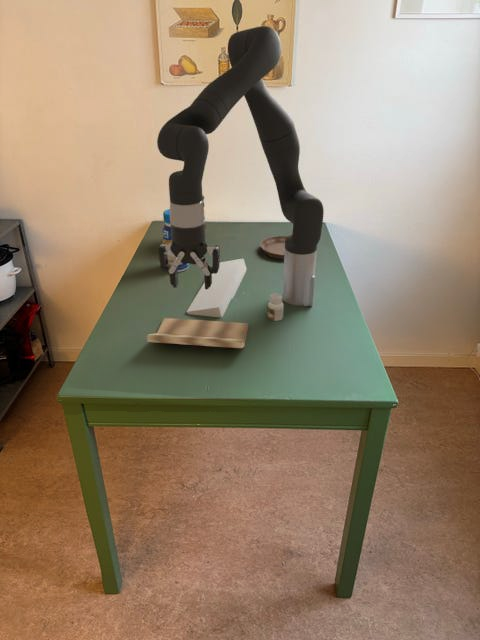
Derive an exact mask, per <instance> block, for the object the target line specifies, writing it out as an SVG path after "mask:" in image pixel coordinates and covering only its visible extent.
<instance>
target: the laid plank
mask: <svg viewBox="0 0 480 640" xmlns="http://www.w3.org/2000/svg"><path fill="white" fill-rule="evenodd" d="M249 325H250V323H248V322H234V321H218V320H203V319H201V320H200V319H187V318H170V317H169V318H167V317H164V318H163V319H162V322H161V324H160V326H159V328H158V330H157V331H156V333H158V334H173V335H188V336H204V337H219V338H234V339H245V342H246V340H247V336H248V330H249V327H250V326H249Z"/></svg>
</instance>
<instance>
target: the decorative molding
mask: <svg viewBox="0 0 480 640" xmlns="http://www.w3.org/2000/svg"><path fill="white" fill-rule="evenodd" d="M245 262H246V261H245V258H243V257H242V258H239V259H233V260H232V259H231V260H228V261H227V260H226V261H220V263H219V270H218V272H217V273H216V274H214V273H213V274H212V284H211V286H210V287H209V289H205V281H204V283H203V284H202V285H201V288H200V289H199V290H198V292H197V294H196V295H195V297H194V299H193V301H192V302H191V304H190V305H189V307H188V308H187V310H186V313H187V315H191V316H192V315H193V316H204V317H211V318H213V317H214V318H221V319H222V318H223V317H224V315H225V313H226V311H227V309H228V306H229V304H230V301H231V300H233V299H234V298H235V296H236V293H237V291H238V290H239V287H240V284H241V283H242V280H243V278H244V277H245V275H246V273H247V266H246V263H245Z"/></svg>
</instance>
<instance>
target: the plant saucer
mask: <svg viewBox="0 0 480 640" xmlns="http://www.w3.org/2000/svg"><path fill="white" fill-rule="evenodd" d="M288 236H289V235H287V236H286V235H278V236H270V237H267V238H265V239H263V240H261V242H260V248H261V249H262V251H263V252H264V253H265V255H267V256H269V257H270V258H273V259H277V260H284V253H285V240H286V238H287V237H288Z"/></svg>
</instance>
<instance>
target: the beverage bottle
mask: <svg viewBox="0 0 480 640" xmlns="http://www.w3.org/2000/svg"><path fill="white" fill-rule="evenodd" d="M162 216H163V217H162V218H163V222H164V225H163V228H162V235H163V236H162V243H165V244H166V245H171V244H172V236H171V223H170V208H169V209H165V210H164V211H163V213H162ZM167 255H168V263H169V264H170V265H172V264H173V262H174V261H175V259H176V256H175V255H174V254H173V253H172V251H171V250H169V253H168V254H167ZM189 267H190V263H188V264H182V263H181V262H180V263H179V265H178V266H177V268H176V270H177V273H181V272H183V271H186V270H188V269H189Z"/></svg>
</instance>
